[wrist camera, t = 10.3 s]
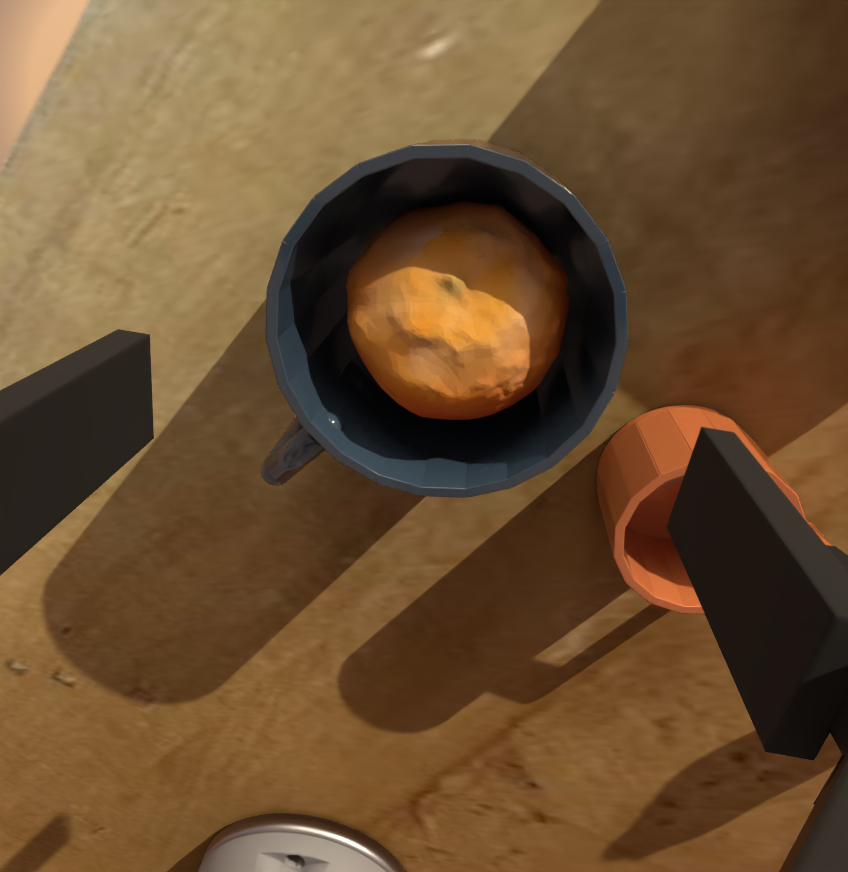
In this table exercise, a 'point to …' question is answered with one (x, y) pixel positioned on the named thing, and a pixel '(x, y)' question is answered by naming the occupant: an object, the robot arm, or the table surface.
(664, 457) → the small cup
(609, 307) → the big cup
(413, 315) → the fruit
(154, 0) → the table surface
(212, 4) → the table surface
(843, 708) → the robot arm
